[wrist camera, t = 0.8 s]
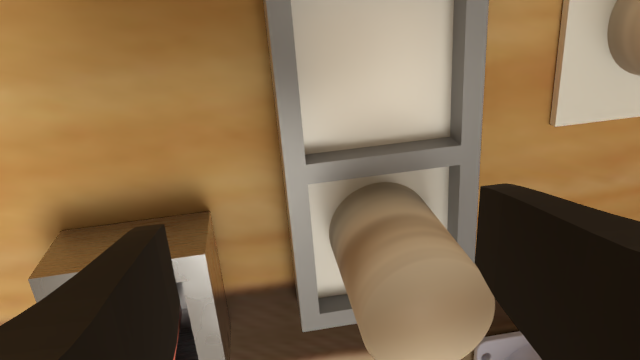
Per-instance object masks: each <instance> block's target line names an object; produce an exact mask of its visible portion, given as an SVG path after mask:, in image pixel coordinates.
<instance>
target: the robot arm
mask: <svg viewBox="0 0 640 360" xmlns="http://www.w3.org/2000/svg"><path fill="white" fill-rule="evenodd" d="M475 263H476V265H477V267H478V269H479V271H480V272H481V274H482V276H483V278H484V280H485V282H486V284H487V285H488V287H489V289H490V291H491V292H492V294H493V296H494V297H495V299H496V300H497V301H498V303H499V304H500V305H501V307H502V308H503V309H504V311H505V312H506V313H507V315H508V316H509V317H510V319H511V320H512V321H513V323H514V324H515V325H516V327H517V328H518V329H519V331H518V332H512V333H506V334H500V335H494V336H488V337H484V338H483V339H482V341H481V342H480V343H479V344H478V345H477V346H476V348H475V349H474V360H640V222H639V221H636V220H632V219H628V218H625V217H621V216H617V215H614V214H610V213H607V212H603V211H600V210H597V209H593V208H590V207H587V206H584V205H581V204H577V203H574V202H571V201H568V200H565V199H562V198H559V197H555V196H552V195H549V194H546V193H543V192H539V191H536V190H532V189H529V188H525V187H521V186H517V185H512V184H497V185H489V186H481V189H480V202H479V216H478V229H477V242H476V256H475ZM179 311H180V299H179V294H178V289H177V284H176V279H175V274H174V269H173V264H172V259H171V254H170V250H169V245H168V240H167V235H166V230H165V225H164V224H157V225H148V226H140V227H135V228H133V229H132V230H130V231H129V232H127V233H126V234H125V235H123V236H122V237H121V238H120V239H119V240H117V241H116V242H115V243H114V244H113V245H111V246H110V247H109V248H108V249H107V250H105V251H104V252H103V253H102V254H100V255H99V256H98V257H97V258H96V259H94V260H93V261H92V262H91V263H89V264H88V265H87V266H86V267H85V268H83V269H82V270H81V271H80V272H78V273H77V274H76V275H74V276H73V277H72V278H70V279H69V280H68V281H66V282H65V283H64V284H62V285H61V286H60V287H58V288H57V289H55V290H54V291H53V292H51V293H50V294H49V295H47V296H46V297H45V298H43V299H42V300H40V301H39V302H37V303H36V304H35V305H33V306H32V307H30V308H28V309H27V310H25V311H24V312H22V313H21V314H19V315H18V316H16V317H14V318H13V319H11V320H9V321H8V322H6V323H4V324H3V325H1V326H0V360H173V359H174V354H175V350H176V345H177V337H178V326H179ZM485 353H486V354H485ZM483 354H485V355H483ZM482 355H483V356H482Z"/></svg>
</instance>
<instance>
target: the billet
mask: <svg viewBox="0 0 640 360" xmlns="http://www.w3.org/2000/svg"><path fill="white" fill-rule="evenodd" d="M329 239H330V244H331V247H332V250H333V253H334V256H335V259H336V262H337V265H338V268H339V271H340V274H341V277H342V280H343V283H344V286H345V289H346V292H347V295H348V298H349V301H350V304H351V307H352V310H353V312H354V315H355V318H356V321H357V324H358V327H359V330H360V333H361V336H362V339H363V342H364V345H365V347H366V349H367V351H368V352H369V353H370V355H371V356H372V357H373V358H374V359H375V360H461V359H462V358H464V357H465V356H466V355H468V354H469V353H470V352H471V351H472V350H474V349H475V348H476V346H477V345H478V344H479V343H480V342H481V341H482V339H483V338H484V337H485V335H486V333H487V332H488V330H489V328H490V326H491V323H492V320H493V317H494V311H495V298H494V296H493V294H492V292H491V291H490V289H489V287H488V285H487V284H486V282H485V280H484V278H483V276H482V274H481V272H480V271H479V269H478V268H477V266H476V265H475V264H474V263H473V261H472V260H471V259H470V258H469V256H468V255H467V254H466V253H465V251H464V250H463V249H462V248H461V247H460V245H459V244H458V243H457V242H456V240H455V239H454V238H453V237H452V235H451V234H450V233H449V232H448V230H447V229H446V228H445V227H444V225H443V224H442V223H441V222H440V221H439V219H438V218H437V217H436V216H435V214H434V213H433V212H432V211H431V209H430V208H429V207H428V206H427V204H426V203H425V202H424V201H423V199H422V198H421V197H420V196H419V195H418V194H417V193H416V192H415V191H413V190H412V189H410V188H408V187H406V186H404V185H401V184H398V183H392V182H379V183H374V184H370V185H367V186H364V187H362V188H360V189H358V190H356V191H354V192H353V193H351V194H350V195H349V196H348V197H346V198H345V199H344V200H343V201H342V202H341V204H340V205H339V206H338V208H337V209H336V211H335V213H334V215H333V217H332V220H331V223H330V229H329Z"/></svg>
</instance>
